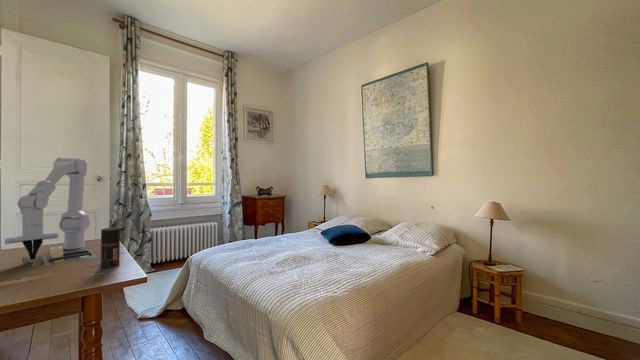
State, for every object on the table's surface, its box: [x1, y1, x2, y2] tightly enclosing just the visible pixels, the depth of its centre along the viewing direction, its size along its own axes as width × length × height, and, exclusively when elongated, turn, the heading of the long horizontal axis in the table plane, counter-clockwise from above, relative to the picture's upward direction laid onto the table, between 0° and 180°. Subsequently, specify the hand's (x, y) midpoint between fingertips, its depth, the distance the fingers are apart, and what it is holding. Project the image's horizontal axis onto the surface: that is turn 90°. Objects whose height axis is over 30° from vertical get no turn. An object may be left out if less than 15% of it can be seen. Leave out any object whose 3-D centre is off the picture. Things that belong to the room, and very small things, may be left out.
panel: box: [40, 247, 99, 267], centre depth 117 cm, size 20×16×2 cm
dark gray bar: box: [22, 256, 32, 268], centre depth 108 cm, size 16×1×1 cm, turn 50°
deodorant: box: [100, 227, 121, 270], centre depth 109 cm, size 6×6×15 cm
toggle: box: [49, 245, 64, 259], centre depth 114 cm, size 4×4×5 cm
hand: (32, 259), depth 108 cm, fingers closed
